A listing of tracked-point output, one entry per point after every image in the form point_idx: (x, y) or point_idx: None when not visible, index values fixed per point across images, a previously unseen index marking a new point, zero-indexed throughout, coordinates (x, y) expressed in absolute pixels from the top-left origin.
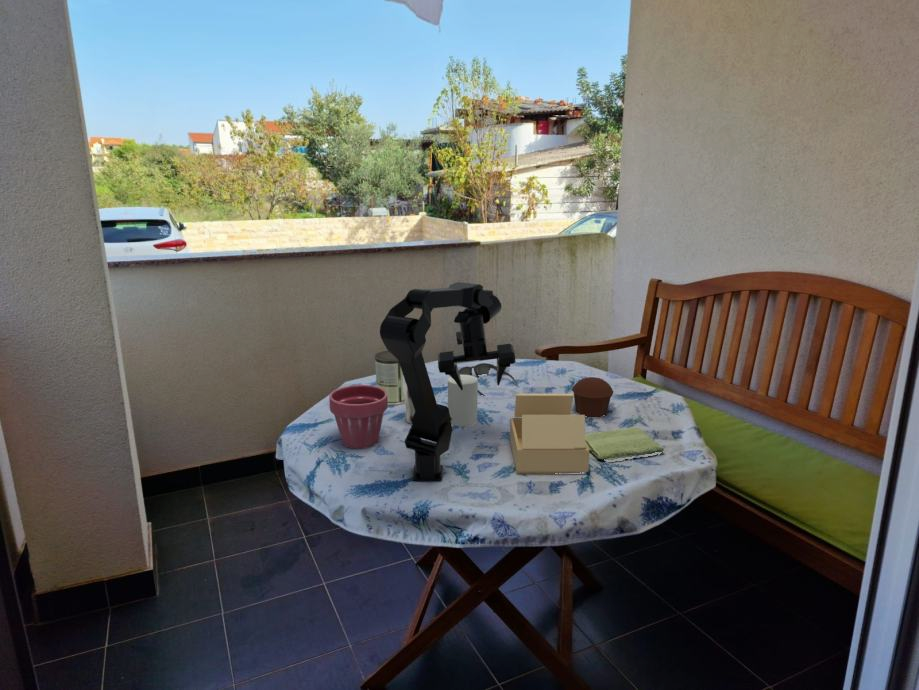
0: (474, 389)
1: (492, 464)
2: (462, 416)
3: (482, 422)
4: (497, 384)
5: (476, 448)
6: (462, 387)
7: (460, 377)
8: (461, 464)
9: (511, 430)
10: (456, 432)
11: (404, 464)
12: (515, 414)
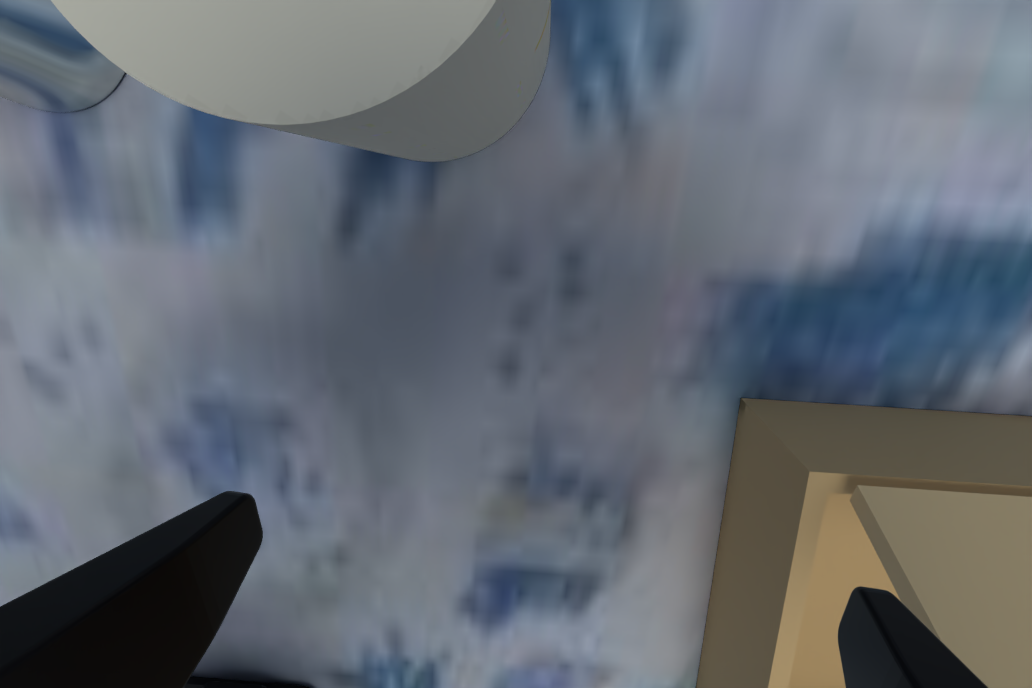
0: (491, 53)
1: (575, 677)
2: (405, 156)
3: (589, 86)
4: (842, 666)
5: (504, 503)
6: (236, 579)
7: (81, 624)
8: (411, 664)
9: (764, 551)
10: (380, 267)
11: None
12: (870, 529)
